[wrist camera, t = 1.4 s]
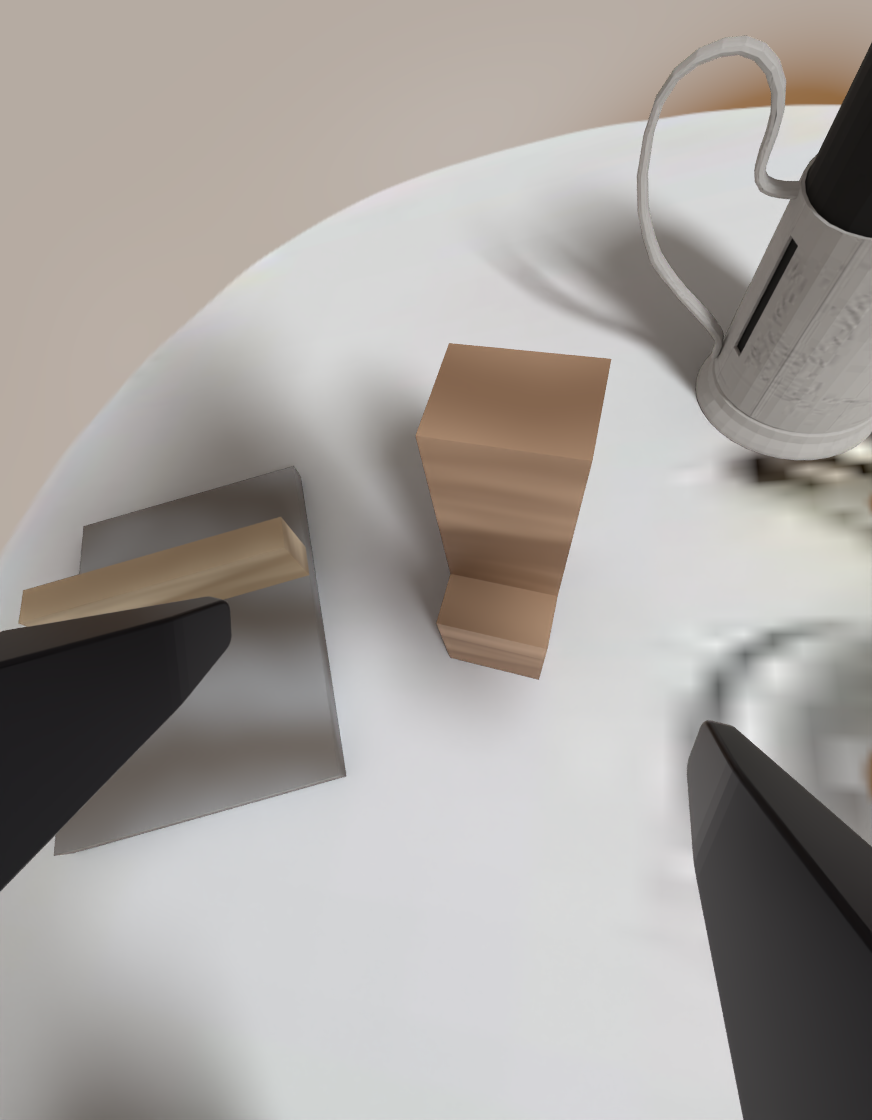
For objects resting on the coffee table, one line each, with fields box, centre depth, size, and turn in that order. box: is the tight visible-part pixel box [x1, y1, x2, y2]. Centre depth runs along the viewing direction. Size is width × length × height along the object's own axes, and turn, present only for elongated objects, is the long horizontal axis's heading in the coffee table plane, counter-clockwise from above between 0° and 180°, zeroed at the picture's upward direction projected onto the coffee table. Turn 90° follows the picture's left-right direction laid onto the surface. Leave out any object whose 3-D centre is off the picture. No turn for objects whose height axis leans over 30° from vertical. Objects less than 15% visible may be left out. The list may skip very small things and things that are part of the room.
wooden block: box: [416, 343, 611, 680], centre depth 17 cm, size 7×4×13 cm, turn 164°
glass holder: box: [637, 36, 872, 460], centre depth 20 cm, size 9×14×15 cm, turn 71°
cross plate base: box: [19, 466, 346, 856], centre depth 23 cm, size 16×12×4 cm
